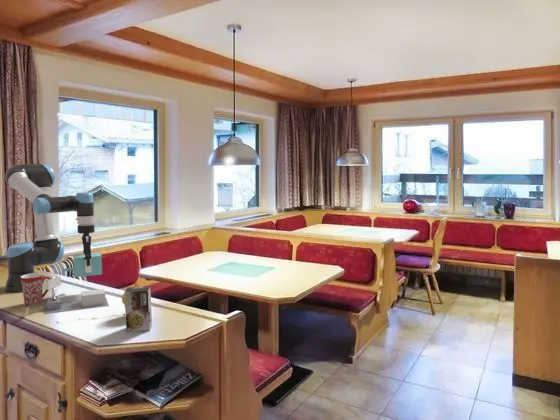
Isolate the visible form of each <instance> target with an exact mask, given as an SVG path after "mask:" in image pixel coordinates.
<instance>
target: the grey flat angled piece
mask: <svg viewBox="0 0 560 420" xmlns="http://www.w3.org/2000/svg"><path fill="white" fill-rule="evenodd" d="M44 283H45V284H44V288H45V290H44V291H46V290H48V291H50V290H51V296H52V297H51V299H52V300H57V299H59V298H60V299H61V298H64V297H66V296H67V294H66V293H60V294H58V295H56V288H57V287H59V286H61V285H62V281H61V275H60V276H59V275H55V276H53V277H50V279H48V278H47V279H45V280H44Z"/></svg>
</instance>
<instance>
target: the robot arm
mask: <svg viewBox="0 0 560 420" xmlns="http://www.w3.org/2000/svg"><path fill="white" fill-rule="evenodd" d="M4 179H5V182H6V183H5V184H7V186H9V187H10V188H11V189H13V190H17V192H19V193H20V194H21V195H23V197H25V198H26V199H27V200H29V201H30V203H32V210H33V216H34V217H33V219H34V226H35V235H36V237H35V238H34V240H33V242H32V241H23V242H19V243H15V244H12V245H10V246H9V247H7V254H6V257H7V270H8V276H7V279H6V283H5V288H4V289H5V291H6V292H7V293H23V288H22V281H21V276H23V275H26V274H32V273H36V272H35V267H38V266H39V267H41V266H44V265H52V264H56V263H59V262H60V261H62V260H63V258H64V254H65V247H64V243H63V242H62V241H61V240H59V237H58V236H56V235H55V229H54V221H53V214H55V213H57V214H58V213H68V212H69V213H70V212H76V218H75V221H76V222H77V233H78V234H80V235H81V234H82V236H81V241H82V246H83V247H82V249H83V251H82V252H83V254H85V258H84V259H85V273H89V272H92V267H91V253H92V250H91V245H92V242H91V241H92V237H91V236H92V235H90V234H93V233H95V214H94V213H95V211H94V210H95V209H94V208H95V207H94V204H95V203H94V195H93V193H92V192H86V191H85V192H77V193H76V194H75V195H65V196H50V191H51V190H52V186H54V184H56V183H55V182H56V174H55V172H54V169H53V168H52V167H51V166H50V165H49V164H46V163H19V164H18V163H17V164H14V165H12V166H10V167H9V168H8V169H7V170H6V172H5V174H4Z"/></svg>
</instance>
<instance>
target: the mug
mask: <svg viewBox="0 0 560 420" xmlns="http://www.w3.org/2000/svg"><path fill="white" fill-rule="evenodd" d="M43 276H44V274H43V273H38V272H37V273H36V272H35V273H32V274H26V275H23V276H21V281H22V288H23V292H22V295H23V302H24V306H25V307H30V305H33V304H39V303H42V302H43V299H44V297H45V296H46V295H47V294H48V292H49V290H44V292H43V283H45V280H48V279H50V278H51V277H49V276H44V277H43Z"/></svg>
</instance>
